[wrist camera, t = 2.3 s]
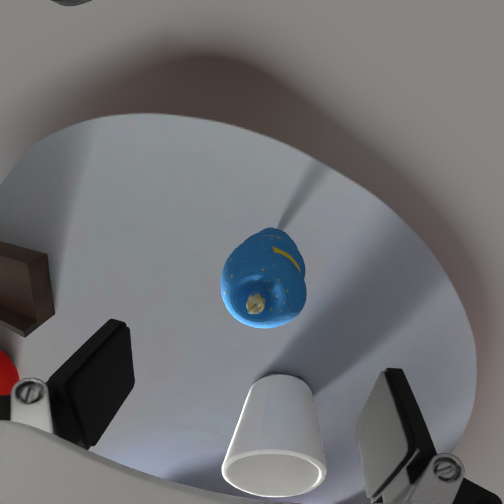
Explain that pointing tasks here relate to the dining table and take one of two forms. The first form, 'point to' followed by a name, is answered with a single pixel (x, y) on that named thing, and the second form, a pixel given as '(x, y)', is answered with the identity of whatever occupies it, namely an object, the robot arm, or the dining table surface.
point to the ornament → (264, 280)
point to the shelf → (24, 289)
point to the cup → (276, 440)
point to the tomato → (7, 374)
